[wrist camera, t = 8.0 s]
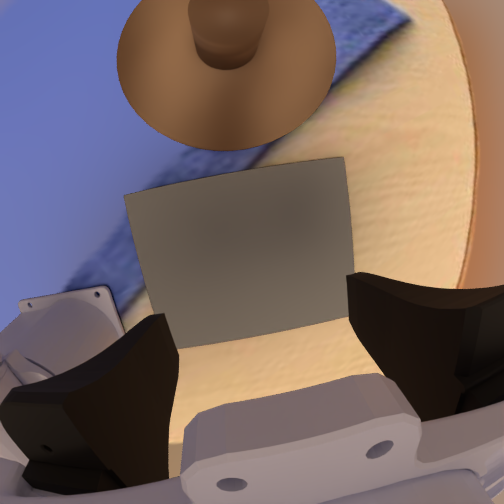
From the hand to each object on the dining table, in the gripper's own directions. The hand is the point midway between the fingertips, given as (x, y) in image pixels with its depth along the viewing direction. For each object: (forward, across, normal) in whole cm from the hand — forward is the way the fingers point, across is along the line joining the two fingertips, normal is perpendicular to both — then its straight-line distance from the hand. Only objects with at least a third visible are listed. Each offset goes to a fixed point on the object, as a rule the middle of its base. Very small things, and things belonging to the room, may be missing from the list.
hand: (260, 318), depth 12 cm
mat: (+10, 0, +1) cm, 10 cm away
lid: (+5, -1, -12) cm, 13 cm away
